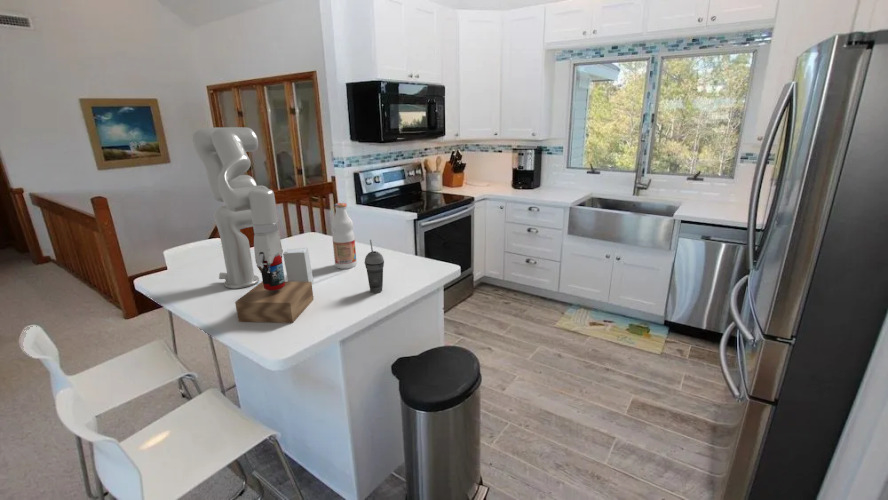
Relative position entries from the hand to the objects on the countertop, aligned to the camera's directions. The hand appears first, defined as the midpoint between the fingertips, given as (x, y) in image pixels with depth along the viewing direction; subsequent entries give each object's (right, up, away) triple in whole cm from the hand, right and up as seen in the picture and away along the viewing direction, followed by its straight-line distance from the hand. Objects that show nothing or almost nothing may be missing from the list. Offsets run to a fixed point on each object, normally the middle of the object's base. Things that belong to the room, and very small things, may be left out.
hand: (273, 279), depth 137 cm
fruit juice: (+13, +2, +47) cm, 48 cm away
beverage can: (0, -3, +1) cm, 3 cm away
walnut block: (0, -11, +3) cm, 11 cm away
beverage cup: (+31, -6, +19) cm, 37 cm away
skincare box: (+1, -5, +24) cm, 25 cm away
